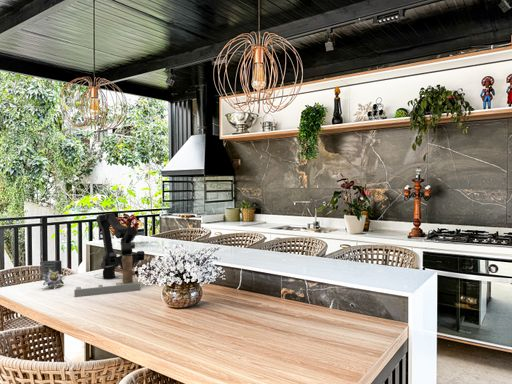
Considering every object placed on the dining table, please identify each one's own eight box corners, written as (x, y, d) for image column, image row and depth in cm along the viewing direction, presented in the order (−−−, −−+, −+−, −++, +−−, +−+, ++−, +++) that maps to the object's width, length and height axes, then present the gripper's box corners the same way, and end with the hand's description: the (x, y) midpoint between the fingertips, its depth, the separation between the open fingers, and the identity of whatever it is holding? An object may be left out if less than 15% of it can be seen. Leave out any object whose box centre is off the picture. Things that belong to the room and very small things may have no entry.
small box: (62, 276, 248) (62, 260, 248) (56, 279, 241) (55, 262, 241) (46, 276, 249) (46, 260, 249) (40, 279, 242) (39, 262, 242)
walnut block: (132, 280, 218) (131, 255, 217) (132, 282, 213) (132, 256, 213) (122, 281, 216) (122, 256, 216) (123, 283, 211) (122, 257, 211)
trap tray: (138, 284, 222) (138, 278, 222) (140, 290, 210) (140, 283, 210) (76, 290, 211) (76, 284, 211) (74, 296, 199) (74, 290, 199)
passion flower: (55, 298, 218) (44, 283, 211) (43, 292, 223) (32, 278, 216) (71, 283, 225) (61, 269, 218) (59, 278, 230) (50, 263, 223)
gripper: (108, 238, 215) (108, 262, 205) (143, 236, 222) (145, 259, 211) (108, 250, 223) (109, 274, 212) (143, 248, 229) (145, 271, 219)
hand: (127, 269), depth 213 cm, fingers closed on walnut block, 5 cm apart
